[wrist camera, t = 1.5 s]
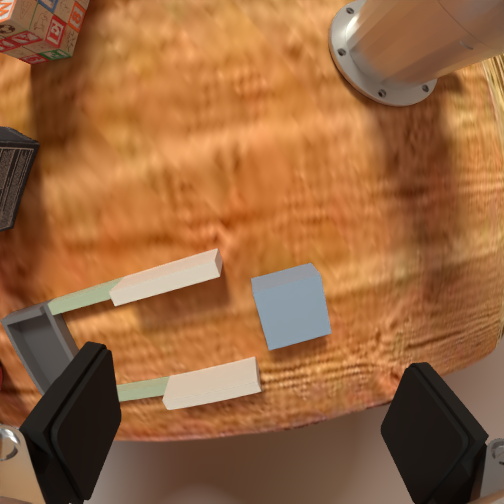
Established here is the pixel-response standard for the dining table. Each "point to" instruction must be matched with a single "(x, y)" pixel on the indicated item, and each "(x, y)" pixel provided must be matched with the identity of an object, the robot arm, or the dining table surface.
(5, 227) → the small box
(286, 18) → the dining table surface
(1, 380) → the citrus juicer
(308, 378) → the dining table surface
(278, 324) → the block
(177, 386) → the two-pronged grey tray
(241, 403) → the dining table surface
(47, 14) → the stack of blocks
